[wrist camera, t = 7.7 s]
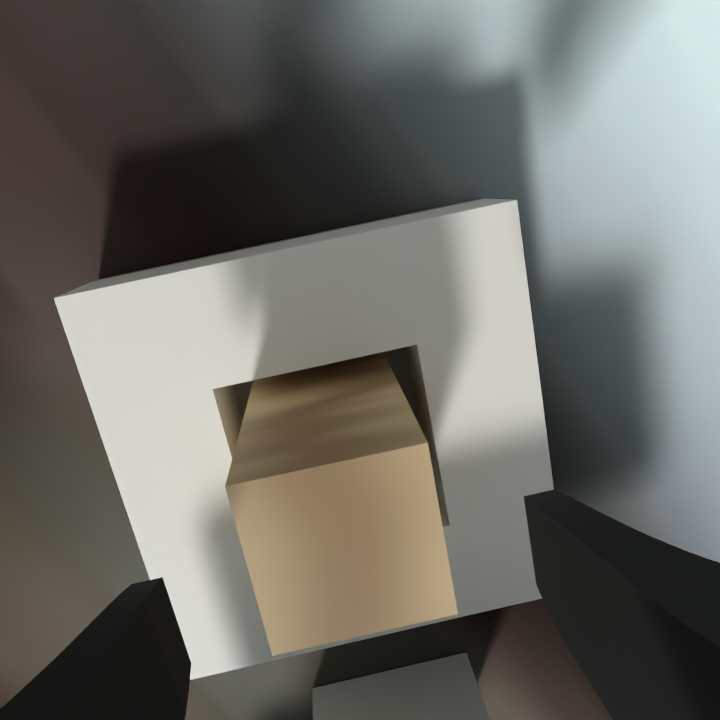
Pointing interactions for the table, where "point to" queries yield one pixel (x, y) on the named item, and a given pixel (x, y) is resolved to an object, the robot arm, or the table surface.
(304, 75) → the table surface
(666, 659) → the robot arm
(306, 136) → the table surface
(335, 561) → the oak peg
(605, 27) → the table surface
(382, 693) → the awning
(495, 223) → the socket block
